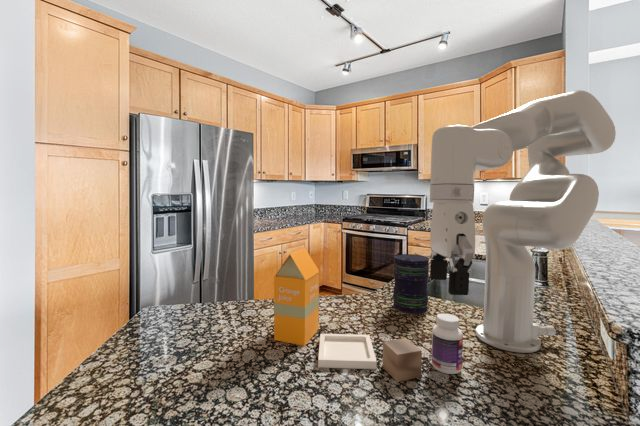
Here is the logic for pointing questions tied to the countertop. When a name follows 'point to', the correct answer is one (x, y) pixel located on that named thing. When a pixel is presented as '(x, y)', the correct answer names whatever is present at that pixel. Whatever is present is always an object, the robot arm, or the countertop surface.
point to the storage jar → (411, 283)
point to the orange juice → (296, 299)
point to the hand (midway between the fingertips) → (447, 286)
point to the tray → (346, 351)
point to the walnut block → (402, 359)
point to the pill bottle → (447, 344)
